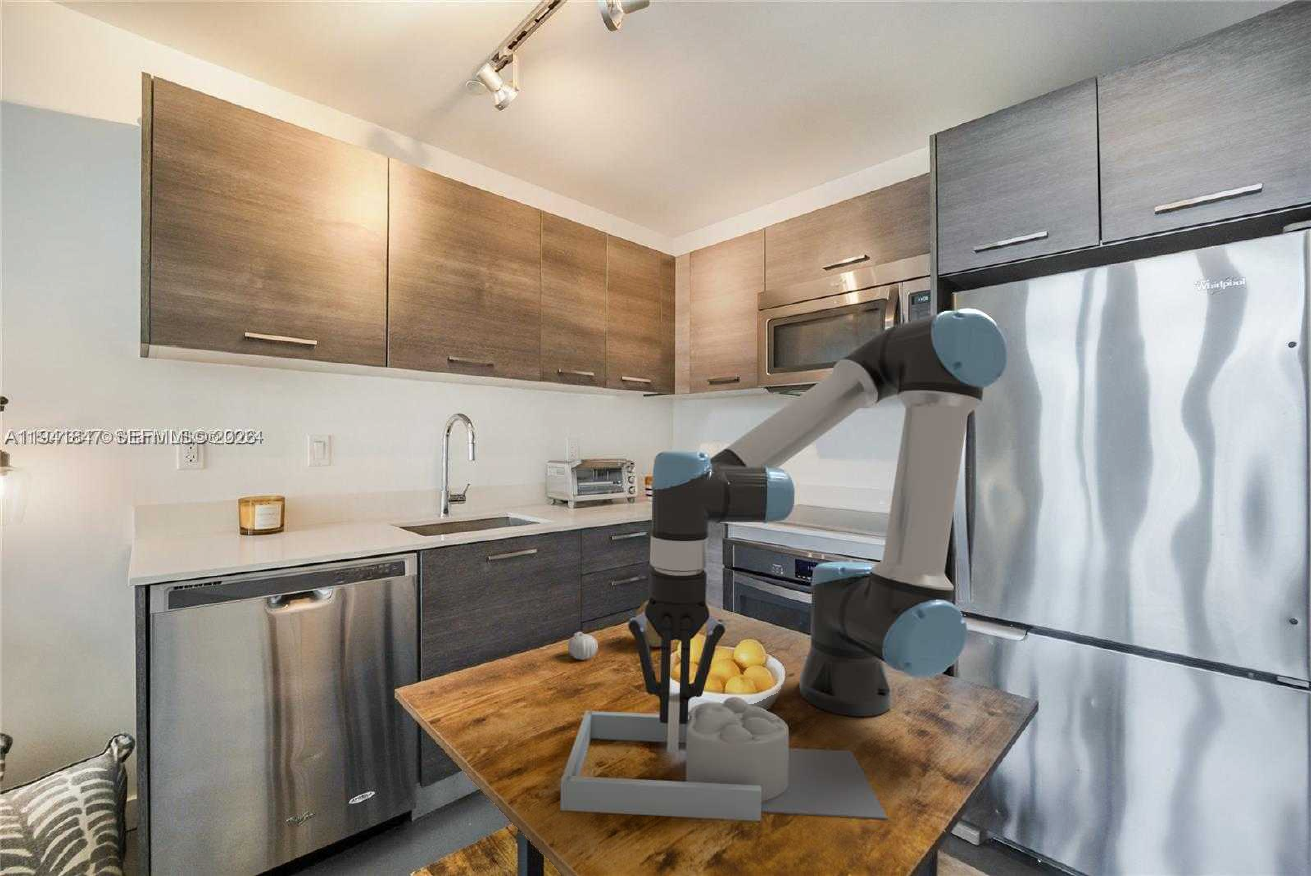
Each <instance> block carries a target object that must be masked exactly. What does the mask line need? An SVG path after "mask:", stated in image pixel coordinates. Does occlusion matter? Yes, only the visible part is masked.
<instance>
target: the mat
mask: <svg viewBox="0 0 1311 876" xmlns="http://www.w3.org/2000/svg"><path fill="white" fill-rule="evenodd" d="M788 754H789V759H788V787H787V789H786V790H785V791H784V792H783V793H781V794H780V795H779V796H777V797H775V798H772V799H769V800H766V801H762V802H761V814H762V813H764V814H766V813H767V814H782V815H783V814H784V815H799V816H801V815H803V816H820V817H822V816H823V817H836V818H837V817H840V818H856V819H857V818H858V819H875V820H888V815H887V813H886V812H885V809H884V808H883V806H882V804H881V803H880V801H879V799H878V797H877V795H876V793H875V791H874V789H873V787H872V786H871V784H870V782H869V781H868V779H867V777H866V775H865V772H864V771H863V769H862V767H861V766H860V763H859V762H858V760H857V758H856V756H855V755H854V752H853V751H851V750H850V751H849V750H831V749H813V748H811V749H809V748H808V749H807V748H792V747H791V748H788Z"/></svg>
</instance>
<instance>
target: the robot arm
mask: <svg viewBox="0 0 1311 876" xmlns="http://www.w3.org/2000/svg"><path fill="white" fill-rule="evenodd" d="M1007 363H1008V347H1007V343H1006V339H1005V337H1004V334H1003V332H1002V331H1001V330H1000V329H999V327H998V324H997V323H996V322H995V321H994V320H993V319H992V318H991V317H990V316H989V315H987V314H986V313H984V312H982V311H980V310H978V309H972V308H963V309H962V308H961V309H956V310H945V311H943V312H942V311H941V312H940V313H937V314H935V315H931V316H927V317H922V318H919V319H915V320H911V321H907V322H901V323H899V324H895V325H892V326H890V327H888V328H886V329H884V330H882V331H880V332H879V333H877V334H875V335H874V336H872V337H871V338H869V339H868V340H867V341H865V342H863V343H862V344H861V345H860V346H858V347H857V348H855V349H854V350H852V351H851V352H850V353H849V354H847V355H846V356H845V357H843V358H842V359H840V360H839V361H837V362H836V363H835V364H834V367H833V369H832V373H831V374H829V375H827V376H826V377H825V378H824V379H822V380H820V381H819V382H818V383H816V384H814V385H813V386H812V387H810V388H809V389H808V390H805V392H803V393H802V394H801V395H799V396H797V397H796V398H795V399H794V400H792V401H791V402H789V403H788V404H787V405H785V406H784V407H782V408H781V409H779V410H778V411H776V412H775V413H773V414H772V415H770V417H767V419H765V420H764V421H763V422H761V423H759V424H758V425H757V426H755V427H754V428H752V429H751V430H750V431H748V432H746V433H745V434H744V435H742V436H741V437H739V438H738V439H737V440H735V441H733V442H732V443H731V444H730V445H729V446H727V447H726V448H724V449H722V450H721V451H719V452H718V453H716V454H715V455H714V456H712V457H710V455H709V454H708V453H707V452H702V451H677V450H676V451H674V450H673V451H672V450H670V451H669V450H667V451H666V450H665V451H661V452H659V453H658V454H657V455H656V456H655V457H654V462H653V467H652V468H653V469H652V479H651V480H652V482H651V534H650V553H649V554H650V555H649V562H650V566H652V568H651V570H650V571H649V582H648V583H649V588H648V589H649V590H648V600H649V602H648V604H647V605H646V608H645V612H643V613H641V614H640V615H638V616H636V615H632V616H630V619H629V621H628V624H627V627H628V629H629V631H630V633H631V634H632V636H633V638H634V640H635V643H636V649H637V653H638V656H639V657H638V658H639V661H640V666H641V671H642V675H643V680H644V681H643V682H644V685H645V691H646V693H647V694H648V695H649V696H652V695H655V696H656V697H658V699H659V714H660V722H661V723H668V742H667V748H666V750H667V751H666V752H668V753H679V743H678V740H679V724H687V721H688V716H689V702H690V700H691V699H692V698H695V697H696V698H701V697H702V696H703V694H704V690H705V687H706V683H707V681H708V680H707V679H708V675H709V672H710V668H711V665H712V660H713V659H714V655H715V651H716V649H717V648H716V647H717V644H718V643H719V641H720V640H721V638H722V637H723V636H724V634H725V633H726V628H725V622H724V621H723V620H721V619H716V618H715V617H714V616H712V614H710V609H709V607H708V604H707V577H708V576H707V575H708V574H707V572H706V571H705V570H704V569H705V568H706V567H707V566H708V542H709V541H708V540H709V524H720V523H763V524H767V523H771V522H782V521H784V520H786V519H788V518H789V516H790V515H791V513H792V511H793V509H794V504H795V492H796V491H795V486H794V483H793V480H792V477H791V476H790V474H789V473H788V472H787V471H786V470H785V469H782V468H779V467H781V466H782V465H783V464H785V463H786V462H788V461H789V460H791V459H792V458H793V457H794V456H796V455H797V454H798V453H800V452H802V451H803V450H804V449H806V448H807V447H808V446H810V445H811V444H813V443H814V442H815V441H816V440H818V439H819V438H821V437H822V436H824V435H825V434H826V433H828V432H829V431H830V430H832V429H833V428H835V427H836V426H837V425H839V424H840V423H841V422H842V421H845V419H847V418H849V416H851V415H852V414H853V413H855V412H856V411H857V410H859V409H870V408H872V407H873V406H875V405H876V404H878V402H880V401H882V400H884V399H887V398H889V397H892V396H896V395H897V398H898V400H899V401H900V402H901V403H902V405H903V406H904V408H905V412H904V419H903V425H902V432H901V439H900V444H899V450H898V459H897V465H896V470H895V471H896V472H895V476H894V477H895V478H894V483H893V485H894V486H893V490H892V496H891V505H890V510H889V516H888V523H887V529H886V535H885V536H886V537H885V543H884V547H883V548H884V549H883V555H882V560H880V562H878V563H873V562H871V563H870V562H862V561H861V562H860V561H830V562H823V563H819V564H817V565H816V566H815V567H814V568H813V570H812V578H811V583H810V588H811V610H810V611H811V613H810V616H811V617H810V620H811V622H810V646H809V650H808V653H807V656H806V659H805V660H804V664H803V667H802V668H801V669H802V670H801V673H800V676H799V689H798V690H799V693H800V695H801V696H802V697H803V698H804V699H805V700H806V701H807V702H808V703H810V704H812V705H813V706H814V707H815V706H816V707H818V708H820V709H822V710H824V711H827V712H831V713H834V714H839V715H843V716H850V717H873V716H878V715H881V714H884V713H885V712H887V711H889V710H890V708H891V706H892V688H891V684H890V681H889V678H888V673H887V671H886V668H885V665H884V663H885V664H887V666H888V667H890V668H891V669H894V670H896V671H899V672H903V673H904V674H905V675H906V674H907V675H909V676H911V677H914V678H918V679H919V678H920V679H928V678H934V677H936V676H939V675H941V674H942V673H944V672H946V671H947V670H948V668H949V667H952V666H953V665H954V664H955V663H956V662H957V661H958V659H959V657H960V656H961V654H962V653H963V650H964V647H965V645H966V641H967V637H968V636H967V635H968V634H967V633H968V629H967V628H968V627H967V626H968V625H967V623H966V620H965V619H964V618H963V617H964V615H963V613H962V612H961V610H960V609H959V608H958V607H956V605H955V604H954V603H952V602H953V598H954V597H953V596H954V589H955V588H954V585H953V583H951V581H950V580H949V579H948V577H947V575H946V573H945V571H946V564H947V557H948V550H949V543H950V539H951V538H950V537H951V531H952V529H951V528H952V523H953V516H954V509H955V504H956V503H955V502H956V496H957V489H958V483H959V475H960V471H961V469H960V468H961V463H962V458H963V457H962V456H963V451H964V449H963V448H964V443H965V436H966V429H967V423H968V416H969V414H971V413H972V412H973V411H974V410H976V409H977V408H978V407H980V406H981V405H982V401H983V394H984V389H985V388H987V387H990V386H991V385H992V384H994V383H996V382H997V381H998V380H999V378H1001V377H1002V376H1003V374H1004V372H1005V371H1006V367H1007ZM647 621H649V622H650V624H651V625H652V627H653V628H654V630H655V631H656V633H657V634H658V635H659V636H660V637H661V638H662V644H661V646H660V648H661V652H660V653H661V656H660V657H661V658H660V681H658V680H657V677H656V672H655V668H654V663H653V659H652V653H651V649H650V645H649V643H648V639H647V634H646V630H647ZM705 624H706V627H705V632H706V637H705V640H704V645H703V647H702V651H701V655H700V658H699V662H698V665H697V669H696V673H695V676H694V679H693V682H692V683H690V673H691V672H690V668H691V667H690V666H691V665H690V664H691V640H693V638H695V637H696V636H697V634H698V633H699V632H700V630H702V627H704V625H705ZM675 640H676V641H679V642H680V669H679V692H671V691H670V690H671V662H672V661H671V659H672V657H671V656H672V641H675Z"/></svg>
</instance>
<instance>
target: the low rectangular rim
mask: <svg viewBox="0 0 1311 876" xmlns="http://www.w3.org/2000/svg"><path fill="white" fill-rule="evenodd" d="M688 724H689V715H688V721H687V724H679V740H678V744H679V743H681V744H684V743H685V744H686V730H687V726H688ZM594 738H595V740H597V739H596V738H598V740H599V739H600V740H615V741H616V740H617V741H635V742H636V741H638V742H656V743H657V742H660V743H668V723H661V722H660V713H644V712H643V713H641V712H640V713H639V712H638V713H637V712H621V711H620V712H618V711H617V712H616V711H597V710H594V711H593V710H585V712H584V715H583V718H582V721H581V722H580V726H579V728H578V733H577V735H576V738H575V741H574V743H573V746H572V749H571V751H570V754H569V757H568V760H567V763H566V765H565V768H564V772H563V775H562V777H561V780H560V811H568V812H569V811H570V812H585V813H586V812H587V813H604V814H606V813H607V814H624V815H625V814H626V815H627V814H628V815H643V816H657V817H658V816H660V817H677V818H678V817H680V818H695V819H697V818H698V819H699V818H700V819H715V820H716V819H717V820H735V821H736V820H737V821H739V820H740V821H750V822H751V821H757V822H762V813H761V792H762V791H761V786H757V785H737V784H718V783H698V782H686V781H675V780H674V781H672V780H659V779H658V780H653V779H637V778H618V777H617V778H616V777H597V776H596V777H595V776H580V775H581V772H582V769H583V765H584V762H585V759H586V756H587V753H588V749H589V746H590V743H591V739H594Z"/></svg>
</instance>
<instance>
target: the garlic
mask: <svg viewBox="0 0 1311 876" xmlns="http://www.w3.org/2000/svg"><path fill="white" fill-rule="evenodd" d="M598 648H599V646H598V640H597V639H596V638H594V636H592V635H591V634H587V633H583V632H582V631H578V632H575V633H574V634H573V637H570V638H569V640H568V642H567V650H568V652H569V654H570V655H571V657H573V658H574V659H577V660H579V661H585V660H588V659H591V658H593V657H594V656H595V655H596V654H597V652H598Z"/></svg>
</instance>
